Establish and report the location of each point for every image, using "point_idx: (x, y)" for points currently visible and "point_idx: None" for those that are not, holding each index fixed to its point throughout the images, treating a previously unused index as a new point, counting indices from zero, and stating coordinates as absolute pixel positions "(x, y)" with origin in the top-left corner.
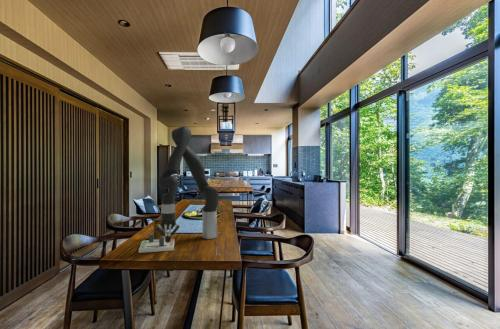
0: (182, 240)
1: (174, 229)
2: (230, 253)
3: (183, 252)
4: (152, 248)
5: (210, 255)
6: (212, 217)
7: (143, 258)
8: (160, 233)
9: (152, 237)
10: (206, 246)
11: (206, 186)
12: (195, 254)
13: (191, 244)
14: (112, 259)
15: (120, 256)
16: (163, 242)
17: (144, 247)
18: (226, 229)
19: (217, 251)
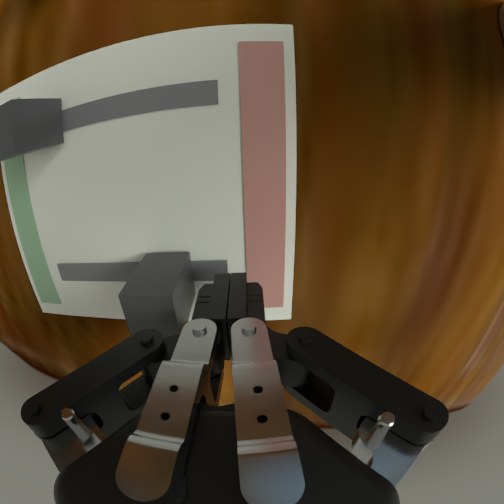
0: (367, 11)
1: (339, 404)
2: (500, 354)
3: (350, 345)
4: (118, 316)
5: (443, 378)
6: None
7: (125, 381)
8: None
9: (29, 151)
10: (494, 251)
11: None
12: (399, 371)
13: (439, 172)
14: (14, 346)
15: (14, 323)
16: (187, 311)
17: (56, 288)
18: None
19: (488, 335)
